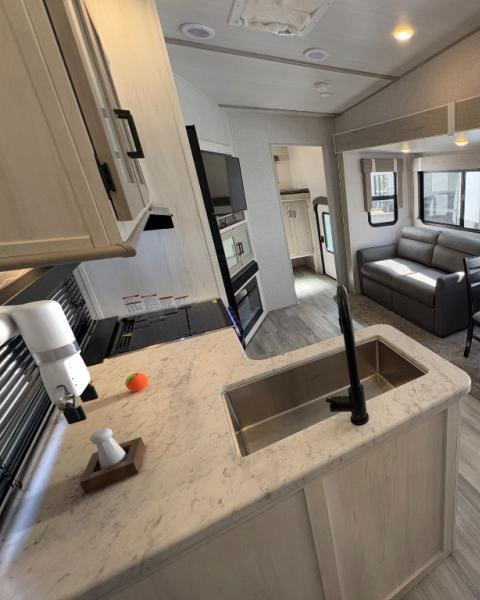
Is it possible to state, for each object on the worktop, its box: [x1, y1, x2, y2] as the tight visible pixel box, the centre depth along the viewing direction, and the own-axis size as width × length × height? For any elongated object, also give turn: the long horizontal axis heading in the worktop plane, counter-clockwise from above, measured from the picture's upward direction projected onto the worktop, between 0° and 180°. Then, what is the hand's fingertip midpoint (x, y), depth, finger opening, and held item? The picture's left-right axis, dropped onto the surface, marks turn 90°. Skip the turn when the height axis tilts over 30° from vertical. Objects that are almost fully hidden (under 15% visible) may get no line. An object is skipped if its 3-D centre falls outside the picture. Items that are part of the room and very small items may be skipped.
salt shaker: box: [89, 427, 128, 470], centre depth 84 cm, size 6×6×13 cm
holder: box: [79, 436, 146, 495], centre depth 86 cm, size 11×11×4 cm
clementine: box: [124, 372, 149, 392], centre depth 121 cm, size 8×7×7 cm
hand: (84, 410), depth 79 cm, fingers open, 9 cm apart
